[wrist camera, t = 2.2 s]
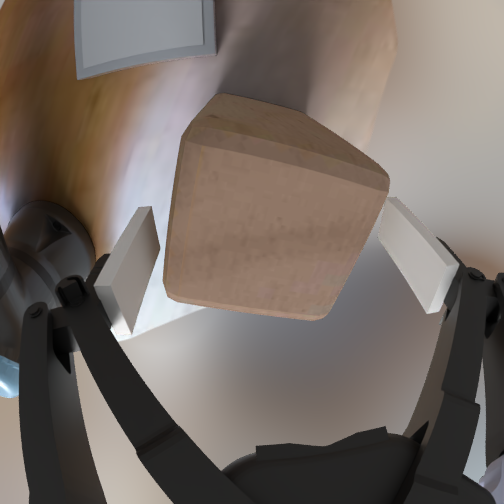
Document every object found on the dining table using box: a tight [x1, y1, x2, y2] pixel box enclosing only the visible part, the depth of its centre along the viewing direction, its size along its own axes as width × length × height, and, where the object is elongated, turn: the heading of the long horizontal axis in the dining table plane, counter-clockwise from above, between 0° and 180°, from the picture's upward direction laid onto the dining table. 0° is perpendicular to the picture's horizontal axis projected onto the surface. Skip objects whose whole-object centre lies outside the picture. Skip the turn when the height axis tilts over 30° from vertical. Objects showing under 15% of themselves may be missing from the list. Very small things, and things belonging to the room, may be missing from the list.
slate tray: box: [74, 0, 217, 80], centre depth 19 cm, size 14×14×3 cm
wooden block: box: [163, 93, 390, 321], centre depth 22 cm, size 10×10×20 cm
